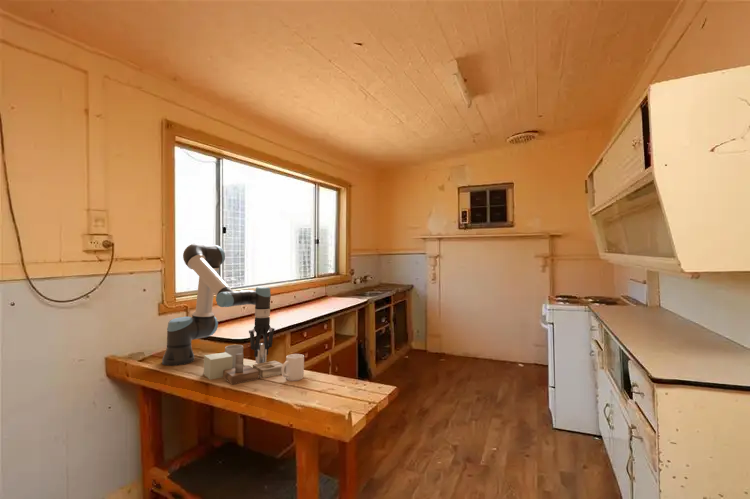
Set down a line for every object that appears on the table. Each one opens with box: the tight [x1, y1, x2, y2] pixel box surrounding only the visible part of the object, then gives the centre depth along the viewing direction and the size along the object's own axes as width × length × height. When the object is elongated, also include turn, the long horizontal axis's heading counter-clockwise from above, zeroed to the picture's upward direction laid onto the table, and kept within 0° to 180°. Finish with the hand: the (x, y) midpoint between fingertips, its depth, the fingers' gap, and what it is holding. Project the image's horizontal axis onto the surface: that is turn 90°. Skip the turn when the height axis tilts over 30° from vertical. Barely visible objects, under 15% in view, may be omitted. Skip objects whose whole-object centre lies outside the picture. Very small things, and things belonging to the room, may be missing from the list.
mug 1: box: [224, 344, 244, 368], centre depth 181 cm, size 11×10×10 cm
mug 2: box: [280, 353, 305, 382], centre depth 160 cm, size 12×8×10 cm
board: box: [222, 353, 260, 385], centre depth 160 cm, size 12×12×12 cm
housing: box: [202, 351, 233, 381], centre depth 165 cm, size 10×10×9 cm
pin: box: [258, 342, 265, 364], centre depth 178 cm, size 3×3×12 cm
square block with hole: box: [252, 360, 286, 379], centre depth 169 cm, size 12×12×4 cm
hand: (261, 362), depth 178 cm, fingers closed on pin, 3 cm apart
